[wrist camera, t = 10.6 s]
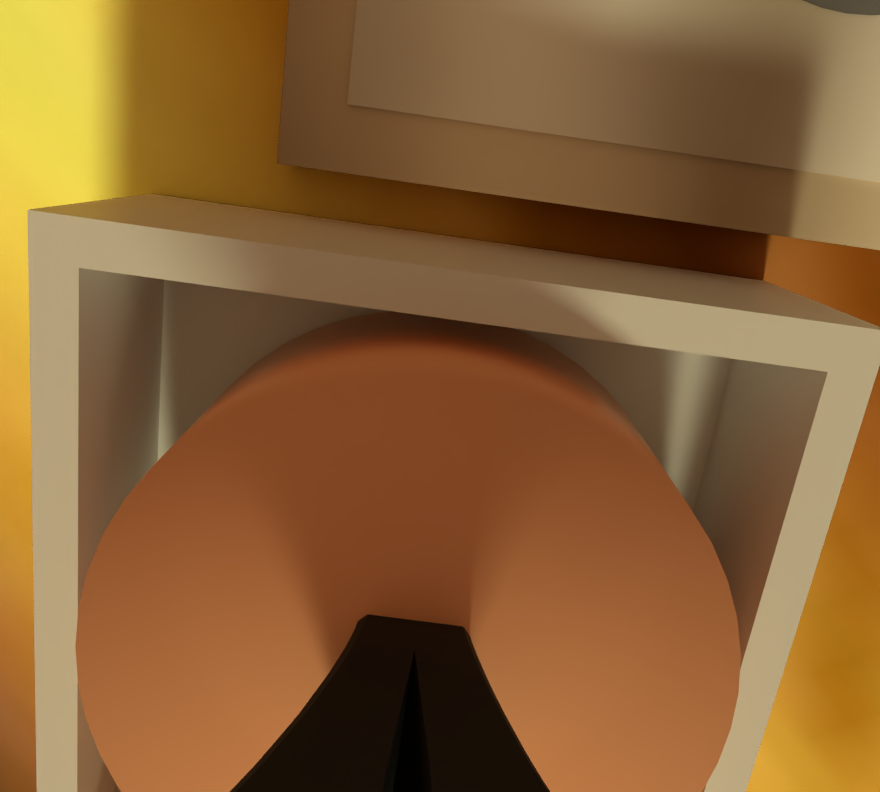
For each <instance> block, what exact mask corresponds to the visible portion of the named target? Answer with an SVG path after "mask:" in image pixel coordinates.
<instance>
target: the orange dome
mask: <svg viewBox="0 0 880 792" xmlns="http://www.w3.org/2000/svg"><path fill="white" fill-rule="evenodd" d="M367 614H370V615H377V616H385V617H393V618H401V619H409V620H416V621H424V622H432V623H440V624H448V625H456V626H463V627H464V628H465V630H466V631H467V632H468V634H469V635H470V637H471V640H472V643H473V646H474V648H475V651H476V653H477V656H478V658H479V661H480V663H481V665H482V668H483V670H484V672H485V674H486V677H487V679H488V681H489V683H490V685H491V687H492V689H493V691H494V693H495V696H496V698H497V700H498V702H499V703H500V705H501V707H502V709H503V711H504V713H505V715H506V717H507V719H508V721H509V722H510V724H511V726H512V728H513V730H514V731H515V733H516V735H517V737H518V739H519V741H520V742H521V744H522V746H523V748H524V750H525V751H526V753H527V755H528V756H529V758H530V760H531V762H532V763H533V765H534V767H535V768H536V770H537V772H538V773H539V775H540V776H541V778H542V780H543V781H544V783H545V784H546V786H547V787H548V789H549V790H550V792H702V791H703V789H704V787H705V785H706V784H707V782H708V780H709V778H710V776H711V775H712V773H713V771H714V769H715V767H716V766H717V764H718V761H719V759H720V756H721V753H722V751H723V748H724V745H725V743H726V740H727V738H728V735H729V732H730V730H731V726H732V721H733V716H734V712H735V707H736V703H737V698H738V693H739V678H740V662H741V652H740V641H739V630H738V620H737V615H736V611H735V607H734V603H733V599H732V595H731V591H730V587H729V583H728V580H727V577H726V575H725V573H724V570H723V568H722V565H721V563H720V561H719V558H718V556H717V554H716V551H715V549H714V547H713V544H712V542H711V541H710V539H709V537H708V536H707V534H706V533H705V531H704V529H703V528H702V526H701V525H700V523H699V521H698V520H697V518H696V516H695V515H694V513H693V512H692V510H691V508H690V507H689V505H688V504H687V502H686V501H685V499H684V498H683V496H682V495H681V494H680V492H679V491H678V489H677V488H676V486H675V485H674V483H673V482H672V480H671V479H670V477H669V476H668V474H667V473H666V471H665V470H664V468H663V467H662V465H661V464H660V463H659V461H658V460H657V458H656V457H655V455H654V454H653V452H652V451H651V449H650V448H649V446H648V445H647V443H646V442H645V440H644V439H643V437H642V436H641V434H640V433H639V431H638V430H637V429H636V427H635V426H634V424H633V423H632V421H631V420H630V418H629V417H628V415H627V414H626V413H625V411H624V410H623V409H622V408H621V407H620V405H619V404H618V403H617V402H616V401H615V399H614V398H613V397H612V396H611V395H610V393H609V392H608V391H607V390H606V389H605V388H604V387H603V386H602V385H601V384H600V383H599V382H598V381H597V380H595V379H594V378H593V377H592V376H591V375H590V374H589V373H588V372H587V371H585V370H584V369H583V368H582V367H581V366H580V365H578V364H577V363H575V362H574V361H572V360H571V359H569V358H568V357H567V356H565V355H564V354H562V353H561V352H559V351H558V350H556V349H555V348H553V347H552V346H550V345H548V344H546V343H544V342H542V341H540V340H538V339H536V338H534V337H532V336H530V335H528V334H526V333H524V332H522V331H519V330H516V329H513V328H509V327H501V326H494V325H487V324H480V323H473V322H465V321H458V320H451V319H444V318H437V317H430V316H422V315H415V314H408V313H401V312H394V311H388V312H378V313H373V314H368V315H362V316H357V317H352V318H347V319H344V320H341V321H338V322H335V323H332V324H328V325H325V326H322V327H319V328H316V329H314V330H311V331H309V332H307V333H305V334H303V335H301V336H299V337H297V338H295V339H293V340H291V341H289V342H287V343H285V344H283V345H281V346H280V347H278V348H277V349H275V350H274V351H272V352H271V353H269V354H268V355H266V356H265V357H263V358H262V359H260V360H259V361H257V362H256V363H255V364H253V365H252V366H251V367H250V368H249V369H248V370H247V371H246V372H244V373H243V374H242V375H241V376H240V377H239V378H238V379H237V380H235V381H234V382H233V383H232V384H231V385H230V386H229V387H228V388H227V389H226V390H225V391H224V392H223V393H222V394H221V395H220V396H219V398H218V399H217V400H216V401H215V402H214V403H213V404H212V405H211V406H210V407H209V408H208V409H207V410H206V411H205V412H204V413H203V414H202V415H201V416H200V417H199V418H198V419H197V420H196V422H195V423H194V424H193V425H192V426H191V427H190V428H189V429H188V430H187V431H186V432H185V433H184V434H183V435H182V436H181V437H180V438H179V439H178V440H177V441H176V442H175V443H174V445H173V446H172V447H171V448H170V449H169V450H168V451H167V452H166V453H165V454H164V455H163V456H162V457H161V458H160V459H159V460H158V461H157V462H156V463H155V464H154V465H153V466H152V467H151V469H150V470H149V471H148V472H147V473H146V474H145V476H144V477H143V478H142V479H141V480H140V482H139V483H138V484H137V485H136V486H135V488H134V489H133V490H132V491H131V492H130V494H129V495H128V496H127V497H126V498H125V499H124V501H123V502H122V504H121V506H120V507H119V509H118V510H117V512H116V514H115V515H114V517H113V519H112V520H111V522H110V524H109V525H108V527H107V529H106V530H105V532H104V533H103V535H102V537H101V540H100V542H99V545H98V547H97V549H96V552H95V554H94V557H93V559H92V562H91V564H90V566H89V569H88V571H87V575H86V579H85V583H84V587H83V592H82V596H81V600H80V604H79V608H78V619H77V632H76V644H75V649H76V663H77V676H78V686H79V690H80V694H81V699H82V703H83V708H84V712H85V716H86V720H87V723H88V725H89V728H90V731H91V733H92V736H93V738H94V741H95V744H96V746H97V749H98V751H99V754H100V756H101V757H102V759H103V761H104V763H105V765H106V767H107V768H108V770H109V772H110V774H111V776H112V777H113V779H114V781H115V783H116V785H117V786H118V788H119V789H120V790H121V792H230V791H231V790H232V789H233V788H234V787H235V786H236V784H237V783H238V782H239V781H240V780H241V779H242V778H243V777H244V776H245V775H246V774H247V773H248V772H249V771H250V770H251V769H252V768H253V767H254V765H255V764H256V763H257V762H258V761H259V760H260V759H261V758H262V756H263V755H264V754H265V753H266V752H267V751H268V749H269V748H270V747H271V746H272V745H273V744H274V742H275V741H276V740H277V739H278V738H279V737H280V735H281V734H282V733H283V732H284V731H285V730H286V728H287V727H288V726H289V725H290V724H291V723H292V721H293V720H294V719H295V718H296V717H297V715H298V714H299V713H300V711H301V710H302V709H303V707H304V706H305V705H306V703H307V702H308V701H309V699H310V698H311V697H312V695H313V694H314V693H315V691H316V690H317V689H318V687H319V686H320V684H321V683H322V682H323V680H324V679H325V678H326V676H327V675H328V673H329V672H330V670H331V669H332V667H333V666H334V664H335V663H336V661H337V660H338V658H339V657H340V655H341V653H342V652H343V650H344V648H345V647H346V645H347V643H348V641H349V639H350V637H351V636H352V634H353V632H354V630H355V627H356V624H357V622H358V621H359V620H360V619H362V618H363V617H364V616H366V615H367Z"/></svg>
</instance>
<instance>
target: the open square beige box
mask: <svg viewBox="0 0 880 792" xmlns="http://www.w3.org/2000/svg"><path fill="white" fill-rule="evenodd" d="M28 259H29V322H30V386H31V450H32V514H33V578H34V642H35V706H36V770H37V792H121V790H120V789H119V788H118V786H117V785H116V783H115V781H114V779H113V777H112V776H111V774H110V772H109V770H108V768H107V767H106V765H105V763H104V761H103V759H102V757H101V756H100V754H99V751H98V749H97V746H96V744H95V741H94V738H93V736H92V733H91V731H90V728H89V725H88V723H87V720H86V716H85V712H84V708H83V703H82V699H81V694H80V690H79V686H78V676H77V663H76V649H75V644H76V632H77V619H78V608H79V604H80V600H81V596H82V592H83V587H84V583H85V579H86V575H87V571H88V569H89V566H90V564H91V562H92V559H93V557H94V554H95V552H96V549H97V547H98V545H99V542H100V540H101V537H102V535H103V533H104V532H105V530H106V529H107V527H108V525H109V524H110V522H111V520H112V519H113V517H114V515H115V514H116V512H117V510H118V509H119V507H120V506H121V504H122V502H123V501H124V499H125V498H126V497H127V496H128V495H129V494H130V492H131V491H132V490H133V489H134V488H135V486H136V485H137V484H138V483H139V482H140V480H141V479H142V478H143V477H144V476H145V474H146V473H147V472H148V471H149V470H150V469H151V467H152V466H153V465H154V464H155V463H156V462H157V461H158V460H159V459H160V458H161V457H162V456H163V455H164V454H165V453H166V452H167V451H168V450H169V449H170V448H171V447H172V446H173V445H174V443H175V442H176V441H177V440H178V439H179V438H180V437H181V436H182V435H183V434H184V433H185V432H186V431H187V430H188V429H189V428H190V427H191V426H192V425H193V424H194V423H195V422H196V420H197V419H198V418H199V417H200V416H201V415H202V414H203V413H204V412H205V411H206V410H207V409H208V408H209V407H210V406H211V405H212V404H213V403H214V402H215V401H216V400H217V399H218V398H219V396H220V395H221V394H222V393H223V392H224V391H225V390H226V389H227V388H228V387H229V386H230V385H231V384H232V383H233V382H234V381H235V380H237V379H238V378H239V377H240V376H241V375H242V374H243V373H244V372H246V371H247V370H248V369H249V368H250V367H251V366H252V365H253V364H255V363H256V362H257V361H259V360H260V359H262V358H263V357H265V356H266V355H268V354H269V353H271V352H272V351H274V350H275V349H277V348H278V347H280V346H281V345H283V344H285V343H287V342H289V341H291V340H293V339H295V338H297V337H299V336H301V335H303V334H305V333H307V332H309V331H311V330H314V329H316V328H319V327H322V326H325V325H328V324H332V323H335V322H338V321H341V320H344V319H347V318H352V317H357V316H362V315H368V314H373V313H378V312H388V311H394V312H401V313H408V314H415V315H422V316H430V317H437V318H444V319H451V320H458V321H465V322H473V323H480V324H487V325H494V326H501V327H509V328H513V329H516V330H519V331H522V332H524V333H526V334H528V335H530V336H532V337H534V338H536V339H538V340H540V341H542V342H544V343H546V344H548V345H550V346H552V347H553V348H555V349H556V350H558V351H559V352H561V353H562V354H564V355H565V356H567V357H568V358H569V359H571V360H572V361H574V362H575V363H577V364H578V365H580V366H581V367H582V368H583V369H584V370H585V371H587V372H588V373H589V374H590V375H591V376H592V377H593V378H594V379H595V380H597V381H598V382H599V383H600V384H601V385H602V386H603V387H604V388H605V389H606V390H607V391H608V392H609V393H610V395H611V396H612V397H613V398H614V399H615V401H616V402H617V403H618V404H619V405H620V407H621V408H622V409H623V410H624V411H625V413H626V414H627V415H628V417H629V418H630V420H631V421H632V423H633V424H634V426H635V427H636V429H637V430H638V431H639V433H640V434H641V436H642V437H643V439H644V440H645V442H646V443H647V445H648V446H649V448H650V449H651V451H652V452H653V454H654V455H655V457H656V458H657V460H658V461H659V463H660V464H661V465H662V467H663V468H664V470H665V471H666V473H667V474H668V476H669V477H670V479H671V480H672V482H673V483H674V485H675V486H676V488H677V489H678V491H679V492H680V494H681V495H682V496H683V498H684V499H685V501H686V502H687V504H688V505H689V507H690V508H691V510H692V512H693V513H694V515H695V516H696V518H697V520H698V521H699V523H700V525H701V526H702V528H703V529H704V531H705V533H706V534H707V536H708V537H709V539H710V541H711V542H712V544H713V547H714V549H715V551H716V554H717V556H718V558H719V561H720V563H721V565H722V568H723V570H724V573H725V575H726V577H727V580H728V583H729V587H730V591H731V595H732V599H733V603H734V607H735V611H736V615H737V620H738V630H739V641H740V652H741V662H740V678H739V693H738V698H737V703H736V707H735V712H734V716H733V721H732V726H731V730H730V732H729V735H728V738H727V740H726V743H725V745H724V748H723V751H722V753H721V756H720V759H719V761H718V764H717V766H716V767H715V769H714V771H713V773H712V775H711V776H710V778H709V780H708V782H707V784H706V785H705V787H704V789H703V791H702V792H746V789H747V786H748V783H749V780H750V776H751V773H752V770H753V767H754V764H755V761H756V757H757V754H758V751H759V748H760V745H761V741H762V738H763V735H764V732H765V729H766V725H767V722H768V719H769V716H770V713H771V710H772V706H773V703H774V700H775V697H776V694H777V690H778V687H779V684H780V681H781V678H782V674H783V671H784V668H785V665H786V662H787V659H788V655H789V652H790V649H791V646H792V643H793V639H794V636H795V633H796V630H797V627H798V623H799V620H800V617H801V614H802V611H803V608H804V604H805V601H806V598H807V595H808V592H809V588H810V585H811V582H812V579H813V576H814V572H815V569H816V566H817V563H818V560H819V557H820V553H821V550H822V547H823V544H824V541H825V537H826V534H827V531H828V528H829V525H830V521H831V518H832V515H833V512H834V509H835V506H836V502H837V499H838V496H839V493H840V490H841V486H842V483H843V480H844V477H845V474H846V470H847V467H848V464H849V461H850V458H851V455H852V451H853V448H854V445H855V442H856V439H857V435H858V432H859V429H860V426H861V423H862V419H863V416H864V413H865V410H866V407H867V404H868V400H869V397H870V394H871V391H872V388H873V384H874V381H875V378H876V375H877V372H878V368H879V365H880V327H878V326H876V325H873V324H871V323H868V322H866V321H863V320H861V319H858V318H856V317H853V316H851V315H848V314H846V313H843V312H841V311H838V310H836V309H833V308H831V307H828V306H826V305H823V304H821V303H818V302H816V301H813V300H811V299H808V298H806V297H804V296H801V295H799V294H796V293H794V292H791V291H789V290H786V289H784V288H781V287H779V286H776V285H774V284H771V283H769V282H766V281H763V280H755V279H748V278H741V277H734V276H727V275H720V274H713V273H706V272H699V271H692V270H685V269H678V268H671V267H664V266H657V265H650V264H643V263H636V262H629V261H622V260H615V259H608V258H601V257H594V256H587V255H580V254H573V253H565V252H558V251H551V250H544V249H537V248H530V247H523V246H516V245H509V244H502V243H495V242H488V241H481V240H474V239H467V238H460V237H453V236H446V235H439V234H432V233H425V232H418V231H411V230H404V229H397V228H390V227H383V226H376V225H368V224H361V223H354V222H347V221H340V220H333V219H326V218H319V217H312V216H305V215H298V214H291V213H284V212H277V211H270V210H263V209H256V208H249V207H242V206H235V205H228V204H221V203H214V202H207V201H200V200H193V199H186V198H179V197H171V196H164V195H157V194H145V195H138V196H130V197H122V198H115V199H107V200H99V201H91V202H84V203H76V204H68V205H61V206H53V207H45V208H38V209H30V210H28Z"/></svg>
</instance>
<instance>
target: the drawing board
mask: <svg viewBox="0 0 880 792" xmlns="http://www.w3.org/2000/svg"><path fill="white" fill-rule="evenodd" d="M277 163H278V164H284V165H291V166H298V167H305V168H312V169H319V170H326V171H333V172H340V173H347V174H354V175H361V176H368V177H375V178H382V179H389V180H396V181H403V182H410V183H417V184H424V185H431V186H437V187H444V188H451V189H458V190H465V191H472V192H479V193H486V194H493V195H500V196H507V197H514V198H521V199H528V200H535V201H542V202H549V203H556V204H563V205H570V206H577V207H583V208H590V209H597V210H604V211H611V212H618V213H625V214H632V215H639V216H646V217H653V218H660V219H667V220H674V221H681V222H688V223H695V224H702V225H709V226H716V227H723V228H730V229H736V230H743V231H750V232H757V233H764V234H771V235H778V236H785V237H792V238H799V239H806V240H813V241H820V242H827V243H834V244H841V245H848V246H855V247H862V248H869V249H876V250H880V0H289V8H288V22H287V35H286V49H285V62H284V76H283V89H282V103H281V116H280V129H279V143H278V156H277Z"/></svg>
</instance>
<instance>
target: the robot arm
mask: <svg viewBox="0 0 880 792" xmlns="http://www.w3.org/2000/svg"><path fill="white" fill-rule="evenodd" d="M230 792H550V790H549V789H548V787H547V786H546V784H545V783H544V781H543V780H542V778H541V776H540V775H539V773H538V772H537V770H536V768H535V767H534V765H533V763H532V762H531V760H530V758H529V756H528V755H527V753H526V751H525V750H524V748H523V746H522V744H521V742H520V741H519V739H518V737H517V735H516V733H515V731H514V730H513V728H512V726H511V724H510V722H509V721H508V719H507V717H506V715H505V713H504V711H503V709H502V707H501V705H500V703H499V702H498V700H497V698H496V696H495V693H494V691H493V689H492V687H491V685H490V683H489V681H488V679H487V677H486V674H485V672H484V670H483V668H482V665H481V663H480V661H479V658H478V656H477V653H476V651H475V648H474V646H473V643H472V640H471V637H470V635H469V634H468V632H467V631H466V630H465V628H464V627H463V626H456V625H448V624H440V623H432V622H424V621H416V620H409V619H401V618H393V617H385V616H377V615H370V614H367V615H366V616H364V617H363V618H362V619H360V620H359V621H358V622H357V624H356V627H355V630H354V632H353V634H352V636H351V637H350V639H349V641H348V643H347V645H346V647H345V648H344V650H343V652H342V653H341V655H340V657H339V658H338V660H337V661H336V663H335V664H334V666H333V667H332V669H331V670H330V672H329V673H328V675H327V676H326V678H325V679H324V680H323V682H322V683H321V684H320V686H319V687H318V689H317V690H316V691H315V693H314V694H313V695H312V697H311V698H310V699H309V701H308V702H307V703H306V705H305V706H304V707H303V709H302V710H301V711H300V713H299V714H298V715H297V717H296V718H295V719H294V720H293V721H292V723H291V724H290V725H289V726H288V727H287V728H286V730H285V731H284V732H283V733H282V734H281V735H280V737H279V738H278V739H277V740H276V741H275V742H274V744H273V745H272V746H271V747H270V748H269V749H268V751H267V752H266V753H265V754H264V755H263V756H262V758H261V759H260V760H259V761H258V762H257V763H256V764H255V765H254V767H253V768H252V769H251V770H250V771H249V772H248V773H247V774H246V775H245V776H244V777H243V778H242V779H241V780H240V781H239V782H238V783H237V784H236V786H235V787H234V788H233V789H232V790H231V791H230Z"/></svg>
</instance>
